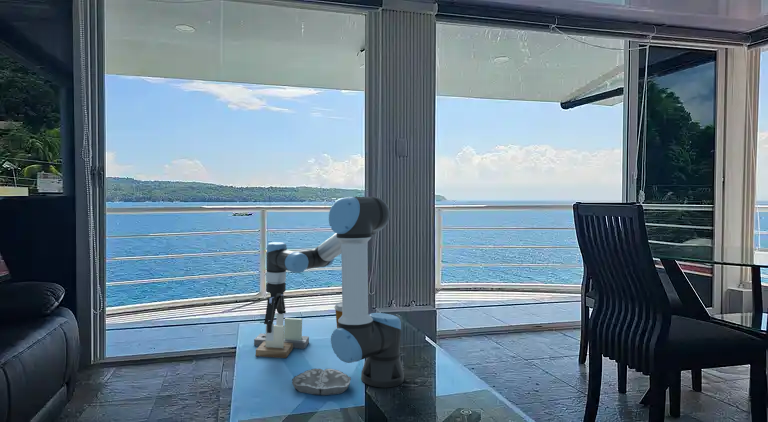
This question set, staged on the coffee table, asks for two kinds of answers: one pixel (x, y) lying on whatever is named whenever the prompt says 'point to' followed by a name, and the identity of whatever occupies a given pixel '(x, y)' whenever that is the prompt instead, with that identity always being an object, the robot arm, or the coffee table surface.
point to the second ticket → (293, 329)
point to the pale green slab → (277, 338)
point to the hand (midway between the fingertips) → (274, 334)
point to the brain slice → (321, 382)
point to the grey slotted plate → (296, 343)
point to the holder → (274, 351)
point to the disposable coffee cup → (338, 311)
